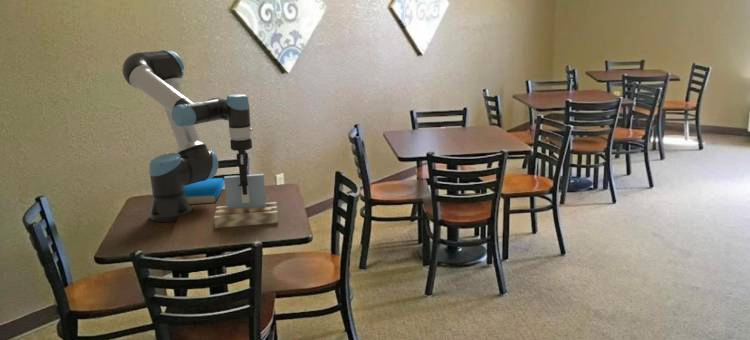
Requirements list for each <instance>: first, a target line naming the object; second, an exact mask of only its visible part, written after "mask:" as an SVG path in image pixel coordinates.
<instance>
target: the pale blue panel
mask: <svg viewBox="0 0 750 340" xmlns="http://www.w3.org/2000/svg"><path fill="white" fill-rule="evenodd" d="M264 175H265V174H264V173H254V174H252V173H251V174H248V175H247V182H248V188H249V200H250V203H242V197H241V186H239V185H240V174H239V175H238V174H237V175H226V176H224V177H223V179H224V182H225V184H224V190H225V192H224V193H225V203H226V204H225V205H226V206H227V209H238V208H243V209H249V208H261V207H266V203H267V200H266V191H265V176H264Z"/></svg>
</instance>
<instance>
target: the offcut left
mask: <svg viewBox="0 0 750 340" xmlns="http://www.w3.org/2000/svg"><path fill="white" fill-rule="evenodd" d="M243 213H244V210H243V208H238V209H226V210H218V212H217V214H218V216H219V215H231V214H243Z"/></svg>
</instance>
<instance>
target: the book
mask: <svg viewBox="0 0 750 340" xmlns="http://www.w3.org/2000/svg"><path fill="white" fill-rule="evenodd" d="M224 187H225V182H224V177H217V178H216V177H215V178H214V177H212V178H210V179H207V180H205V181H200V182H197V183H193V184H189V185H186V186H184V189H185V195H186V198H187V200H188V202H189V204H190V205H194V204H196V205H197V204H211V203H212V204H214V203H215V202H216V201H217V200H218V198H219V196H220V195H221V192H222V190H223V188H224Z"/></svg>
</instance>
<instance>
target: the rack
mask: <svg viewBox="0 0 750 340" xmlns="http://www.w3.org/2000/svg"><path fill="white" fill-rule="evenodd" d="M277 203H278V202H277V201H270V202H266V207H261V208H267V207H271V209H272V211H268V212H256V213H249V209H255V208H249V209H243V210H244V213H243V214H231V215H219V216H218V214H217V212H218V210H226V209H227V205H221V206H220V205H219V206H216V210H215V212H214V214H215V215H214V217H213V218H214V219H213V220H214V227H215V229H218V228H219V229H220V228H230V227H243V226H244V227H245V226H255V225H267V224H278V223H279V216H278V205H277Z"/></svg>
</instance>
